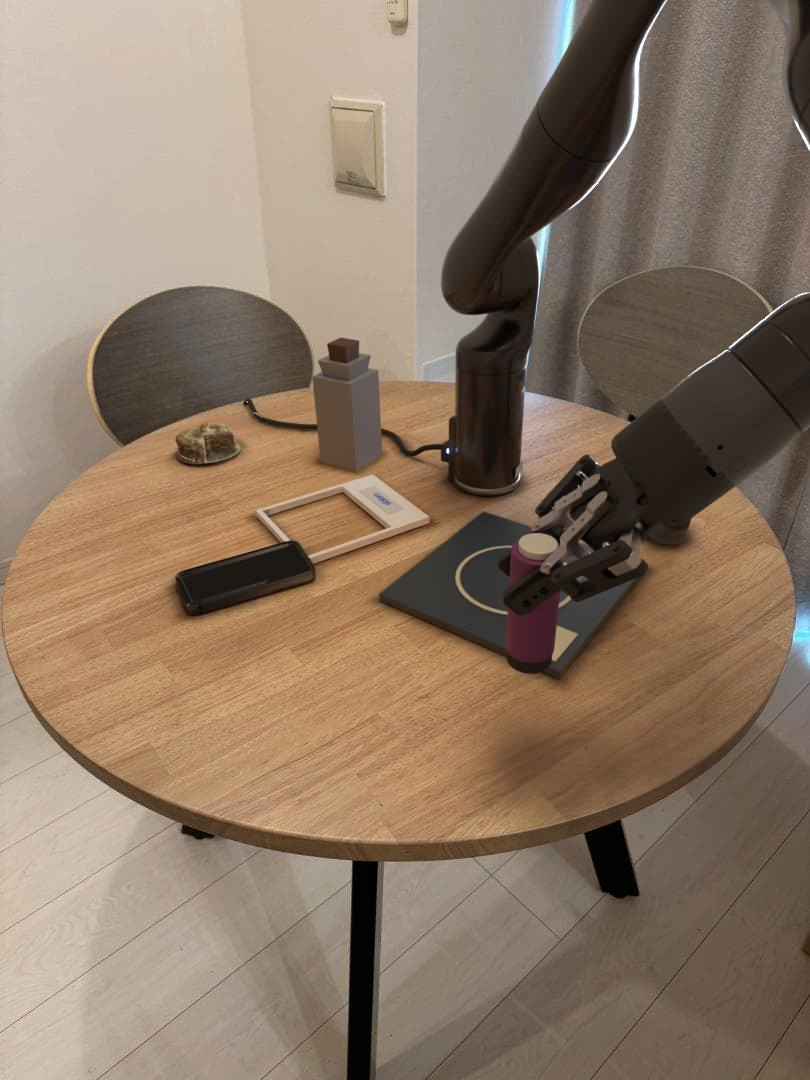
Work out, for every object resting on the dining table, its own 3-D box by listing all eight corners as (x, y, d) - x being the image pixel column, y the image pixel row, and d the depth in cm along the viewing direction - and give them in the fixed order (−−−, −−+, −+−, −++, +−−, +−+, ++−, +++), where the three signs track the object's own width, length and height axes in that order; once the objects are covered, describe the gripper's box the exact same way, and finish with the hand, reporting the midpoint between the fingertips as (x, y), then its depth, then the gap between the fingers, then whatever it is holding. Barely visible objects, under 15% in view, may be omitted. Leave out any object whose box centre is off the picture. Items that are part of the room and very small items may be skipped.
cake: (163, 462, 115) (155, 429, 112) (209, 439, 122) (202, 408, 119) (209, 471, 110) (201, 437, 107) (254, 446, 117) (248, 414, 114)
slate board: (379, 600, 82) (378, 592, 81) (483, 517, 97) (483, 510, 96) (559, 679, 70) (560, 670, 70) (646, 571, 85) (647, 563, 85)
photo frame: (429, 515, 95) (302, 559, 87) (429, 522, 96) (303, 567, 88) (372, 473, 106) (255, 509, 98) (373, 480, 106) (256, 516, 98)
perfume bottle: (382, 454, 114) (376, 339, 104) (356, 472, 109) (348, 352, 99) (347, 445, 117) (338, 332, 107) (320, 462, 112) (309, 345, 102)
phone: (173, 573, 85) (296, 538, 91) (175, 580, 86) (297, 545, 91) (187, 610, 79) (318, 570, 84) (189, 618, 80) (319, 578, 85)
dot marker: (496, 662, 59) (501, 546, 53) (519, 637, 61) (527, 524, 55) (538, 681, 57) (549, 563, 51) (561, 654, 59) (574, 539, 53)
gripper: (641, 363, 53) (468, 510, 60) (703, 448, 41) (478, 620, 48) (702, 430, 56) (530, 564, 63) (776, 529, 44) (553, 680, 51)
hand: (508, 587), depth 55 cm, fingers closed on dot marker, 3 cm apart
